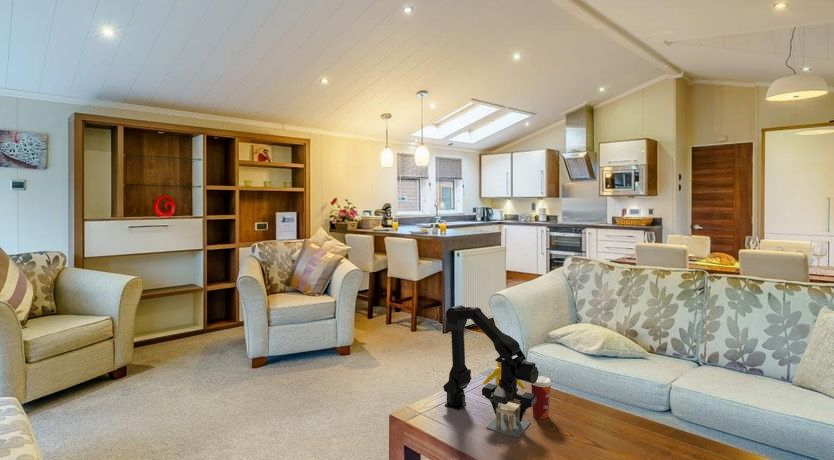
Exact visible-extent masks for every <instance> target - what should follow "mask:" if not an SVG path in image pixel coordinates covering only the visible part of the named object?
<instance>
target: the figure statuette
mask: <svg viewBox="0 0 834 460" xmlns="http://www.w3.org/2000/svg"><path fill="white" fill-rule="evenodd" d="M496 362H497V361H496ZM496 366H497V367H496V368H495V369H494V370H493V372H492V373H490V374H489V375H488V376H487V378H486V379H485V380H484V381H483V382H482V384H483V385H484V386H486V385H487V384H488V383H490V382H491V381H492V380H493V379H494V378H495V385H497V386H498V385H499V379H501V363H500V362H497V364H496ZM517 386H519V387H520V388H521V389H522V390H525V389H526V387H525V385H524V384H523V381H522V380H519V379H518V381H517Z"/></svg>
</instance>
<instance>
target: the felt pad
mask: <svg viewBox="0 0 834 460" xmlns="http://www.w3.org/2000/svg"><path fill="white" fill-rule="evenodd" d="M530 425H531V422H530V421H527V420H523V419H522V421H521V422H520V423H519V424H517V423H516V417H513V431H509V415H508V419H507V420H503V414H502V413H501V426H500V427H496V417H495V418H494V419H493V420H492V421H490V422H489V423H488V424H487V425H486V426H485V428H486V429H488V430H491V431H494V432H498V433H501V434H504V435H507V436H511V437H514V438H516V439H517V438H518V439H519V437H520V436H521V435H522V434H523V433H524V431H525V430H526V429H527V428H528V427H529V426H530Z"/></svg>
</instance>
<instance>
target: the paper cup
mask: <svg viewBox="0 0 834 460" xmlns="http://www.w3.org/2000/svg"><path fill="white" fill-rule="evenodd" d="M530 384H531V385H530V386H531V394H535V396H536V403H535V404H534V405H533V406H532V407H531V408H532V415H533V417H534V418H536V419H538V420H545V419H548V418H549V412H550V400H551V399H550V398H551V387H552V382H551V379H550V378H549V377H546V376H543V375H542V376H541V375H538V379H537V381H536V382H535V383H534V384H532V383H530Z"/></svg>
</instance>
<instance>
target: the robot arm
mask: <svg viewBox="0 0 834 460" xmlns="http://www.w3.org/2000/svg"><path fill="white" fill-rule="evenodd" d="M445 317H446V322H447V324H448V327H449V328H450V331H451V332H450V333H451V335H450V336H451V357H452V366H451V368H450V371H449V375H448V380H447V382H446V383H445V384H444V385H443V386H442V387H443V392H446V403H444V406H445V407H448V408H451V409H454V410H461V408H463V407H464V406H466V405H467V402H466V394H465V389H467V388H468V385H469V384H470V383H471V380H472V375H471V373H472V370H471V369H469V368H468V367H467V365H466V352H465V327H466V325H467V323H468V320H471V321H472V322H473V323H474V324H475V325H476V326H477V327H478V328H479V329H480V331H482V332H483V334H484V335H485V336H487V338H488V339H489V340H490V341H491V342H492V343H493V348H494V349H495V351H496V352H497V354H498V355H499V356H498V357H497V358H495V362H500V363H501V379H499V385H498V386H497V385H496V384H495V383H490V382H488V383H487V384H486V385H484V387H482V388H481V395H482V396H484V398H485V399H487V400H489V401H490V403H491V406H492V409H493V413H494V414H495V416H496V408H497V407H499V404H507V403H508V402H511V403H514V401H515V400H517V401H519V405H520V406H519V407H520V416H519V420H520V422H521V421H522V420H523V419H524V416H525V414H526V411H527V409H529V408H530V409H531V408H532V406H533V405H534V404H535V403H536V396H535V394H532V392H526V391H525V392H524V393H523V394H519V393H517V392H519V388H518V384H517V381H518V379H519V380H520V381H521V382H525V383H530V384H531V383H532V384H534V383H535V382H536V381H537V379H538V376H540V375H539V374H540V373H539V370H538V367H537V366H536V363H535V362H533V361H531V362H530V361H527V358H526V356H525V354H524V352H523V351H522V349H521V345H520V343H519V342H518V341H517V340H516V339H515V338H513V337H511V335H508V334H506V333H504V332H502V331H501V330H500V329H499V327H497V326H496V324H495V323H494V322H493V321H491V320H490V318H489V317H488V316H487V315H486V314H485V313H484V312H483V311H482V309H481V308H480V307H478V306H476V307H475V306H474V307H472V306H468V307H467V306H466V307H465V306H464V305H462V304H459V305H456V306H452V307H449V308H448V309H447V310H446V311H445ZM515 356H516V357H515Z"/></svg>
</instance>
